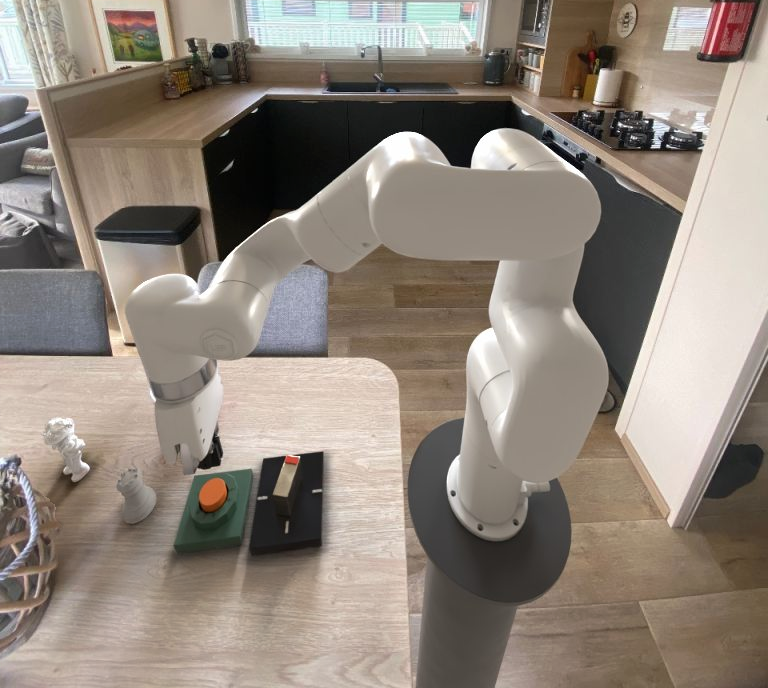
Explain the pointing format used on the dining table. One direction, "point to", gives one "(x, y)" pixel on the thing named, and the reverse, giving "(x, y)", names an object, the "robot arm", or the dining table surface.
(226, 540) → the button block
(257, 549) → the panel
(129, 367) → the dining table surface
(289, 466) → the knob
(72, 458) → the hat wearing toy figure
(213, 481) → the button
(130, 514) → the rook chess piece
